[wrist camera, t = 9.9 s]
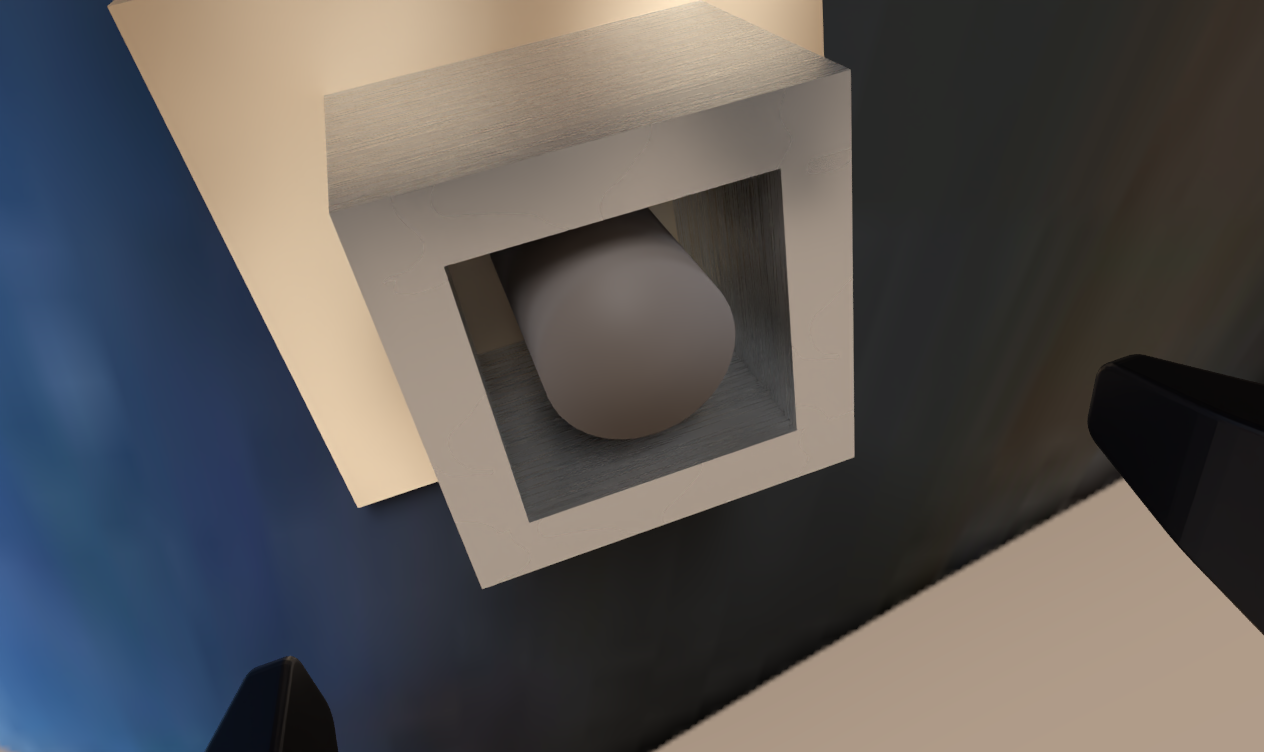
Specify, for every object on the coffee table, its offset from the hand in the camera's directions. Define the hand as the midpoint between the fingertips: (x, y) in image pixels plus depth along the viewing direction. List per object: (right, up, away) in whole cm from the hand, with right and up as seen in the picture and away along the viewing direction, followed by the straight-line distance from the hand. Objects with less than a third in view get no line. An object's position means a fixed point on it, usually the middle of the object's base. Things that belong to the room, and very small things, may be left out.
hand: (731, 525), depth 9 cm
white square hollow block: (-2, +4, +7) cm, 8 cm away
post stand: (-3, +5, +8) cm, 10 cm away
